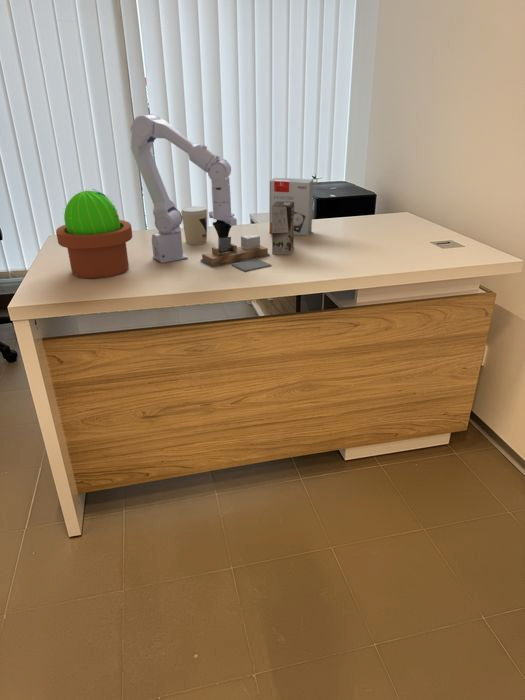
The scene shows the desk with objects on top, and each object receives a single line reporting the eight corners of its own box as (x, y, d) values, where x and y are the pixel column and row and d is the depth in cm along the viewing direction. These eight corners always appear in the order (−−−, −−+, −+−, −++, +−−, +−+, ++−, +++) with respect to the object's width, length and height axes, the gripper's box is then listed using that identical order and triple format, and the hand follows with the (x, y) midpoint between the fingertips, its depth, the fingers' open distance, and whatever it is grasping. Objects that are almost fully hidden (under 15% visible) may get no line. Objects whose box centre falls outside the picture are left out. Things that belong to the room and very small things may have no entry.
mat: (244, 271, 160) (244, 270, 160) (231, 265, 166) (231, 264, 166) (271, 265, 165) (271, 264, 165) (257, 259, 171) (257, 258, 171)
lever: (219, 254, 168) (219, 238, 165) (216, 252, 169) (216, 237, 167) (232, 251, 171) (232, 236, 168) (229, 250, 172) (230, 234, 169)
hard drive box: (268, 233, 202) (268, 180, 193) (274, 229, 208) (274, 177, 199) (308, 236, 197) (309, 181, 188) (312, 231, 204) (313, 178, 195)
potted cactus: (62, 285, 152) (45, 197, 141) (66, 263, 171) (50, 184, 159) (139, 277, 157) (128, 192, 146) (134, 257, 176) (124, 180, 165)
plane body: (212, 267, 165) (211, 252, 163) (200, 261, 171) (199, 247, 169) (269, 255, 175) (269, 241, 173) (256, 250, 181) (256, 236, 179)
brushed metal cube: (247, 250, 172) (247, 238, 170) (241, 247, 175) (240, 236, 173) (260, 248, 175) (259, 236, 173) (253, 245, 178) (253, 233, 176)
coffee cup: (207, 244, 189) (205, 211, 183) (181, 245, 189) (178, 211, 184) (210, 238, 197) (208, 206, 192) (185, 238, 197) (183, 206, 192)
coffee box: (290, 254, 176) (290, 206, 168) (271, 254, 177) (271, 205, 170) (294, 247, 184) (294, 201, 176) (276, 246, 185) (276, 200, 178)
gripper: (244, 203, 159) (245, 246, 166) (221, 196, 170) (223, 237, 176) (224, 206, 156) (226, 250, 162) (202, 198, 167) (205, 240, 173)
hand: (223, 243), depth 169 cm, fingers closed, pressing on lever
